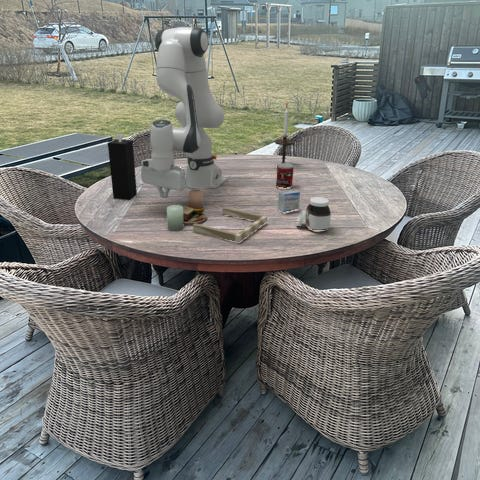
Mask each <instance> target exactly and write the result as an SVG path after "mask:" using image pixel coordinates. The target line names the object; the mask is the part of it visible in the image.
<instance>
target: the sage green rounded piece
mask: <svg viewBox="0 0 480 480" xmlns="http://www.w3.org/2000/svg"><path fill="white" fill-rule="evenodd" d="M180 205H181V204H171V205H168V206H167V207H166V216H167V217H166V220H167V229H168V230H169V231H174V232H176V231H177V232H178V231H182V230H183V229H185V228H184V227H185V224H184V220H183V207H182V206H180Z"/></svg>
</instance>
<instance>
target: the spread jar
mask: <svg viewBox="0 0 480 480" xmlns="http://www.w3.org/2000/svg"><path fill="white" fill-rule="evenodd" d="M309 200H310V201H309V204H308V205H307V206H306V208H305V210H304V209H302V210H301V211H300V213H299V216H298V217H297V221H299V222H298V224H297V226H300V227H301V226H302V225H303V222H304V221H305V222H304V223H305V226H306V225H307V226H308V227H309V228H311V229H312V230H326V229H328V230H329V228H330V225H331V215H332V212H331V208H330V206H329V203H330V201H329V199H328V198H326V197H320V196H315V197H311V198H310V199H309ZM297 221H296V222H297ZM297 226H296V227H297ZM326 231H327V230H326Z"/></svg>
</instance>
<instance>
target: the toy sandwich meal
mask: <svg viewBox="0 0 480 480" xmlns="http://www.w3.org/2000/svg"><path fill="white" fill-rule="evenodd" d="M179 205H180V206H182V207H183V220H184V225H189V226H190V225H192V226H193V224H195V223H196V224H198V223H199V224H201V222H202V223H203V222H205V221H206V220H207V215H206V214H205V213H204V211H205V208H204V207H203V208H202V209H194V208H191V207H189V205H183V204H179Z"/></svg>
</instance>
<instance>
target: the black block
mask: <svg viewBox="0 0 480 480" xmlns="http://www.w3.org/2000/svg"><path fill="white" fill-rule="evenodd" d="M116 137H117V139H113V140H110V141H109V142H108V141H107V150H108V159H109V167H110V178H111V189H112V196H113V197H112V199H114V200H122V201H123V200H124V201H131V200H132V199H134V197H136V196H137V195H138V192H137V191H138V190H137V177H136V166H135V154H134V153H135V152H134V140H133V139H123V137H124V134H121V133H116Z"/></svg>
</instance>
